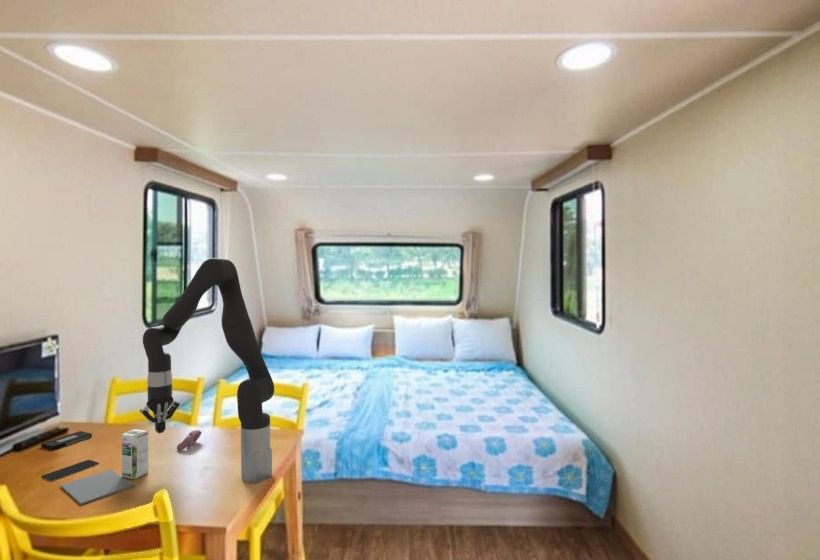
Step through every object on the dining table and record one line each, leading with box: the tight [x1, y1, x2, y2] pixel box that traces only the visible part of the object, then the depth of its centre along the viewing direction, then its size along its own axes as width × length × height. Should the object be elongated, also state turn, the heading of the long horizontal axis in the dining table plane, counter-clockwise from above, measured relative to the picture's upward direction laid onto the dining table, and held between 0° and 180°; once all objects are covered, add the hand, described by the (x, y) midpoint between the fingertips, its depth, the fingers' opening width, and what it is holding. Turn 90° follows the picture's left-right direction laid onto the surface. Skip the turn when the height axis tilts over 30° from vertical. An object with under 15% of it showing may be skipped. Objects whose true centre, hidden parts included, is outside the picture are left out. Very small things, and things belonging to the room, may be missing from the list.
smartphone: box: [40, 459, 100, 482], centre depth 155 cm, size 7×1×15 cm
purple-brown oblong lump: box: [176, 429, 203, 451], centre depth 176 cm, size 10×5×7 cm, turn 179°
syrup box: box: [121, 428, 149, 480], centre depth 151 cm, size 6×6×14 cm
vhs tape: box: [40, 430, 93, 451], centre depth 180 cm, size 8×14×2 cm, turn 158°
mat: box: [60, 469, 134, 506], centre depth 143 cm, size 18×14×1 cm
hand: (160, 432), depth 158 cm, fingers closed
